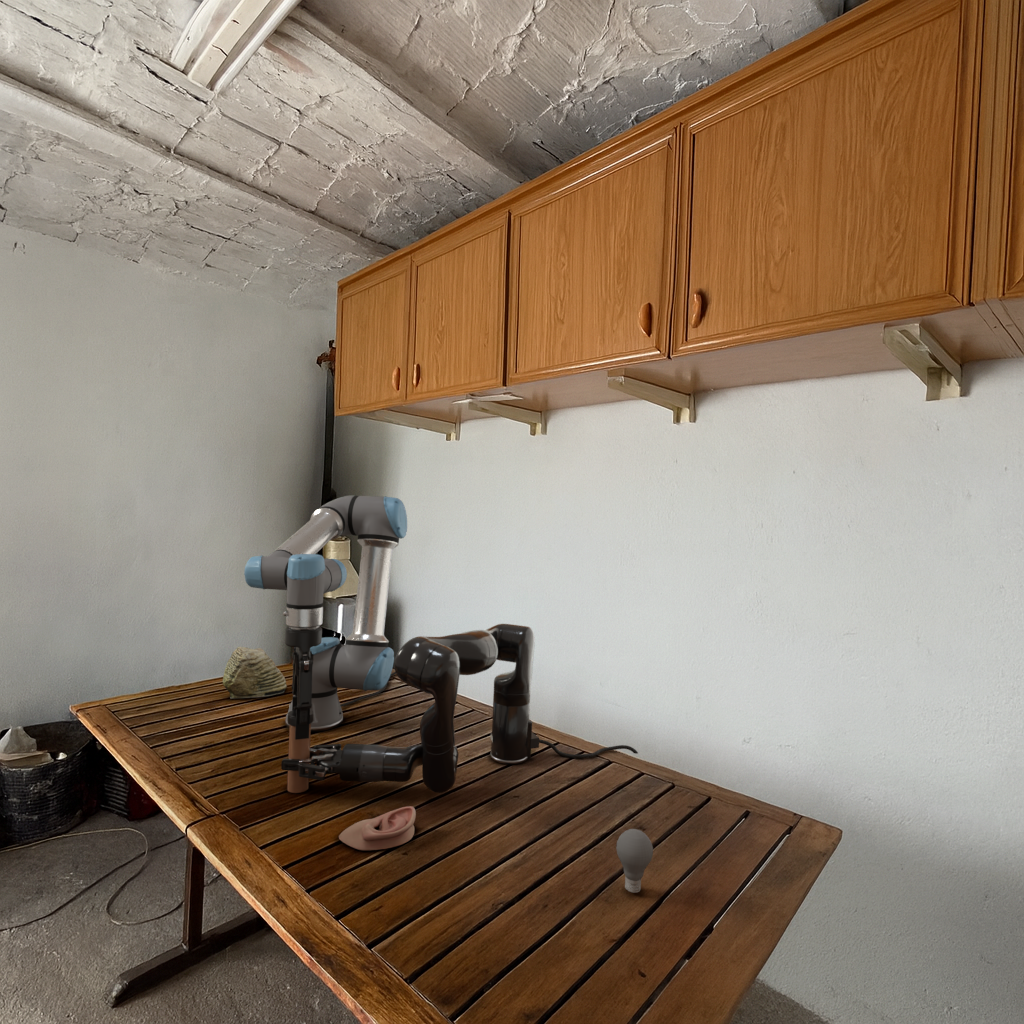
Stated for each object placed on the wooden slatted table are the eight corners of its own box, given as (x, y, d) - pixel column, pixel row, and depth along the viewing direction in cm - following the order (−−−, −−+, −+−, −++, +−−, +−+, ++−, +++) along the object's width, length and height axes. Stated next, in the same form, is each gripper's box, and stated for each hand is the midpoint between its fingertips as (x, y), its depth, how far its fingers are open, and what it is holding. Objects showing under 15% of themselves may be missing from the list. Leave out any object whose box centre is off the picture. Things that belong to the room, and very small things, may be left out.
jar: (288, 794, 134) (291, 719, 134) (285, 785, 138) (288, 713, 138) (310, 790, 136) (313, 717, 136) (306, 782, 140) (309, 710, 140)
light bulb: (610, 879, 108) (613, 822, 108) (644, 879, 109) (647, 822, 109) (619, 902, 102) (622, 840, 102) (655, 901, 103) (658, 840, 103)
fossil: (218, 695, 195) (220, 647, 195) (278, 685, 208) (279, 640, 207) (228, 703, 189) (230, 653, 188) (289, 692, 201) (290, 645, 201)
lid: (314, 724, 136) (314, 715, 136) (288, 727, 133) (288, 717, 133) (311, 716, 140) (311, 707, 140) (286, 719, 138) (286, 709, 138)
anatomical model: (331, 824, 115) (359, 795, 126) (330, 845, 115) (358, 815, 126) (400, 835, 112) (422, 805, 124) (399, 857, 112) (421, 825, 124)
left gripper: (281, 618, 144) (277, 718, 145) (290, 637, 126) (285, 751, 126) (315, 616, 147) (312, 714, 148) (328, 635, 129) (324, 746, 129)
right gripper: (372, 733, 144) (297, 730, 144) (357, 759, 130) (274, 755, 130) (371, 766, 144) (296, 762, 144) (356, 795, 130) (273, 791, 130)
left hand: (300, 731), depth 137 cm, fingers open, 7 cm apart
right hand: (286, 759), depth 137 cm, fingers closed on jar, 4 cm apart
